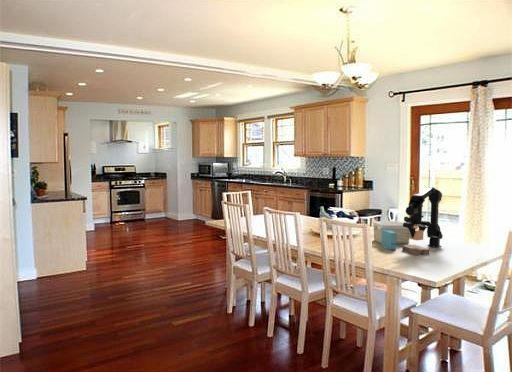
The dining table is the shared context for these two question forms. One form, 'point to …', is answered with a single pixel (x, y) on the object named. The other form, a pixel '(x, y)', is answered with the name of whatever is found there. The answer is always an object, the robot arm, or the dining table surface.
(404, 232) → the storage basket
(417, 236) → the terracotta cube
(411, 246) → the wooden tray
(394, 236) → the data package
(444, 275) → the dining table surface
